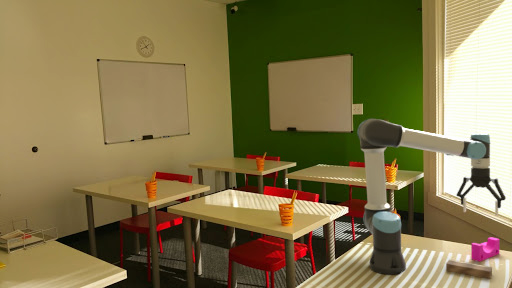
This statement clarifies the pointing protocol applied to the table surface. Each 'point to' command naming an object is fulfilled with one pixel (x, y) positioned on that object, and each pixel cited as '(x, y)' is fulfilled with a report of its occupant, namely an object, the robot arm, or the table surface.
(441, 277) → the table surface
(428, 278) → the table surface
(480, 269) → the walnut plank
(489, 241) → the toy block
